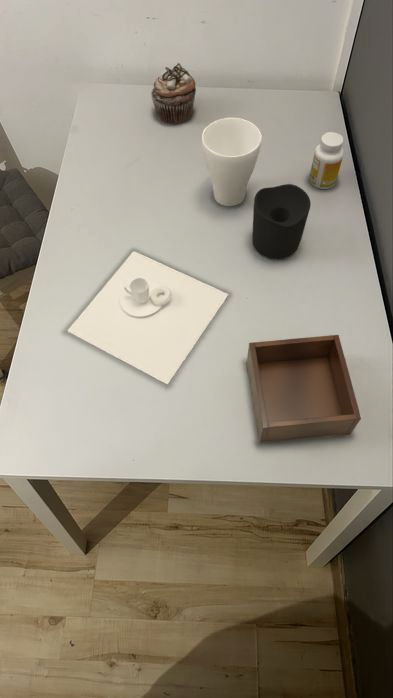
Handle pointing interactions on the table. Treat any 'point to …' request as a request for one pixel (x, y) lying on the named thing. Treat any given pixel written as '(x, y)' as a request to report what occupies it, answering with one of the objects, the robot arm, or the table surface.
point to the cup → (230, 157)
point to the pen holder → (279, 220)
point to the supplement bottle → (327, 161)
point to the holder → (301, 389)
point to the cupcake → (174, 95)
